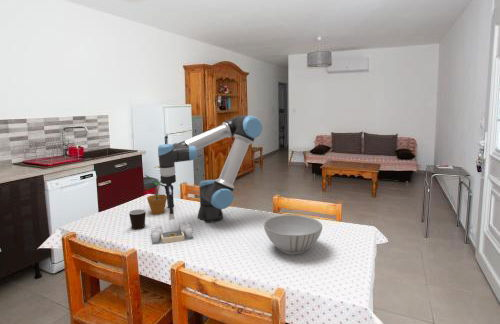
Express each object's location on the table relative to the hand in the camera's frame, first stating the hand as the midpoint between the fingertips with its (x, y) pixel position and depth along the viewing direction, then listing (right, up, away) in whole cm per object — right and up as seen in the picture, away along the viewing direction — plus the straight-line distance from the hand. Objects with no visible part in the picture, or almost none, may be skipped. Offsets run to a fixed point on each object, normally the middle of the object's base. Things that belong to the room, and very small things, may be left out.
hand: (171, 219), depth 177 cm
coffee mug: (-20, -7, +10) cm, 23 cm away
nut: (+2, -8, -7) cm, 11 cm away
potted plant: (-18, -2, +37) cm, 41 cm away
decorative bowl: (+60, -11, -17) cm, 64 cm away
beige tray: (+1, -9, -4) cm, 10 cm away
